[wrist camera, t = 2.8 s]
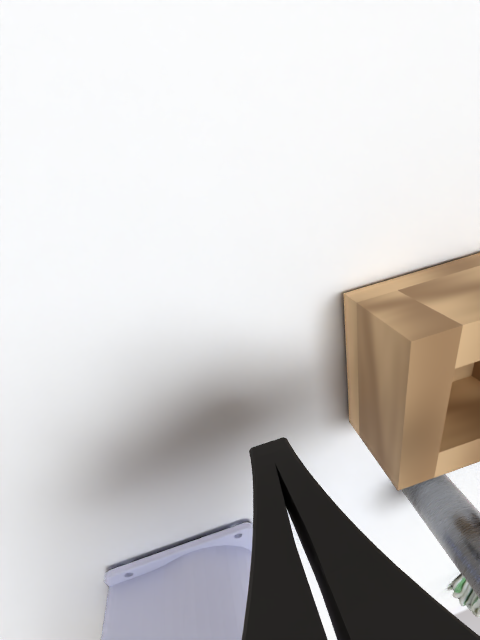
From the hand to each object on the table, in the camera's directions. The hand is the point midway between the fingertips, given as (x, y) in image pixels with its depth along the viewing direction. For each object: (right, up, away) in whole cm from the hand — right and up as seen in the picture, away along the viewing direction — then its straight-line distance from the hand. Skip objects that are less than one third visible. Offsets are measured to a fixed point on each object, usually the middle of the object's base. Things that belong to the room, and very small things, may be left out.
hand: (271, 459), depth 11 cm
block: (+8, +4, +4) cm, 10 cm away
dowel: (+11, -6, +10) cm, 16 cm away
